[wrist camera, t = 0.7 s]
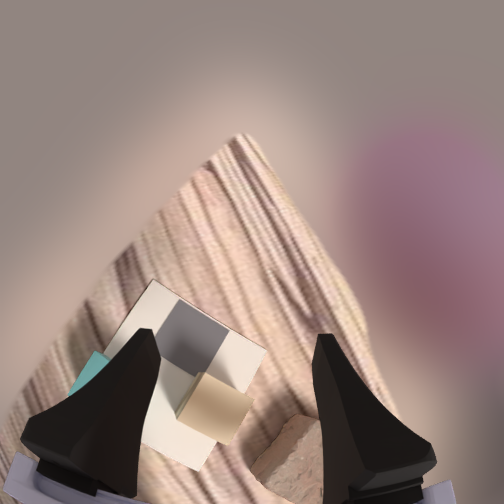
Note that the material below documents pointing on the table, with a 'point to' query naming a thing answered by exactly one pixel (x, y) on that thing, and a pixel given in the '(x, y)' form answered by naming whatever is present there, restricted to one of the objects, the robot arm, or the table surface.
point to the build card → (185, 367)
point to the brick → (294, 462)
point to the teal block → (90, 370)
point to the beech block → (213, 408)
